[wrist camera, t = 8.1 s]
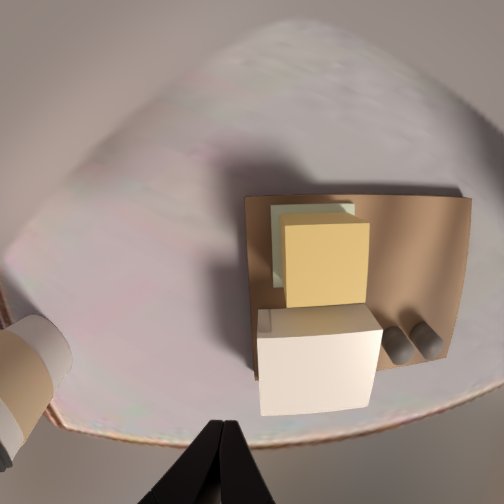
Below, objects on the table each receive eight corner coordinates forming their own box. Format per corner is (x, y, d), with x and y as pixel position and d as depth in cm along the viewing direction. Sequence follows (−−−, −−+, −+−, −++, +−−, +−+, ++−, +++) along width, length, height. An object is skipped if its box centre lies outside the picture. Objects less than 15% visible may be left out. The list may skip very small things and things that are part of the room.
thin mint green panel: (353, 203, 17) (354, 203, 17) (350, 281, 18) (352, 283, 18) (270, 205, 17) (270, 205, 17) (273, 285, 19) (273, 287, 18)
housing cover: (364, 303, 19) (383, 329, 15) (355, 375, 20) (367, 406, 17) (258, 309, 19) (256, 338, 15) (261, 381, 20) (260, 415, 17)
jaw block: (347, 212, 17) (369, 223, 13) (345, 276, 18) (365, 302, 14) (280, 214, 17) (284, 225, 13) (282, 279, 18) (286, 307, 14)
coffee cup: (3, 316, 22) (-91, 387, 7) (46, 290, 21) (-80, 381, 6) (47, 387, 24) (-24, 476, 9) (99, 376, 23) (17, 497, 8)
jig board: (464, 197, 18) (492, 202, 14) (441, 351, 21) (459, 373, 18) (245, 196, 18) (241, 201, 15) (255, 372, 22) (253, 401, 18)
